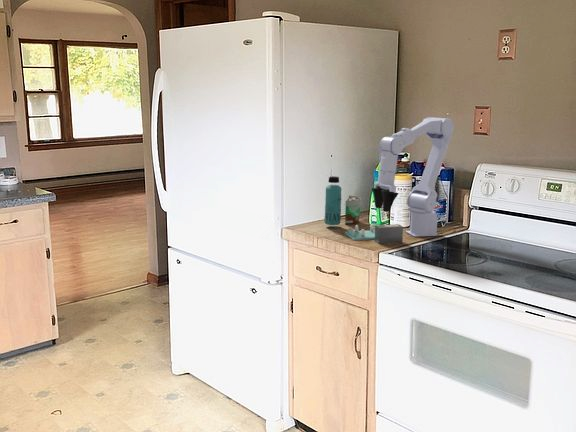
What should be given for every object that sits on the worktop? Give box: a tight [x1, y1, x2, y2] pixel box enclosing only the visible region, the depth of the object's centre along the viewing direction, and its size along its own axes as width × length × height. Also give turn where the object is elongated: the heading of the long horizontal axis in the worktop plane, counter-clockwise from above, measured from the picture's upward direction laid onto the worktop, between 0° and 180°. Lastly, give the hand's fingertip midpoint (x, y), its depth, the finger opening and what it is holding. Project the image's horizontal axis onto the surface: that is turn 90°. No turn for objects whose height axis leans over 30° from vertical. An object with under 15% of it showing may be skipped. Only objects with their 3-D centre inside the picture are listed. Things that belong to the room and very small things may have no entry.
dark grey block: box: [374, 223, 404, 245], centre depth 219 cm, size 9×4×6 cm, turn 103°
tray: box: [344, 224, 375, 241], centre depth 227 cm, size 14×10×3 cm
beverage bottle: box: [323, 175, 342, 226], centre depth 238 cm, size 6×7×20 cm
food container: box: [344, 195, 363, 226], centre depth 248 cm, size 12×6×10 cm, turn 168°
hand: (382, 209), depth 216 cm, fingers open, 7 cm apart
